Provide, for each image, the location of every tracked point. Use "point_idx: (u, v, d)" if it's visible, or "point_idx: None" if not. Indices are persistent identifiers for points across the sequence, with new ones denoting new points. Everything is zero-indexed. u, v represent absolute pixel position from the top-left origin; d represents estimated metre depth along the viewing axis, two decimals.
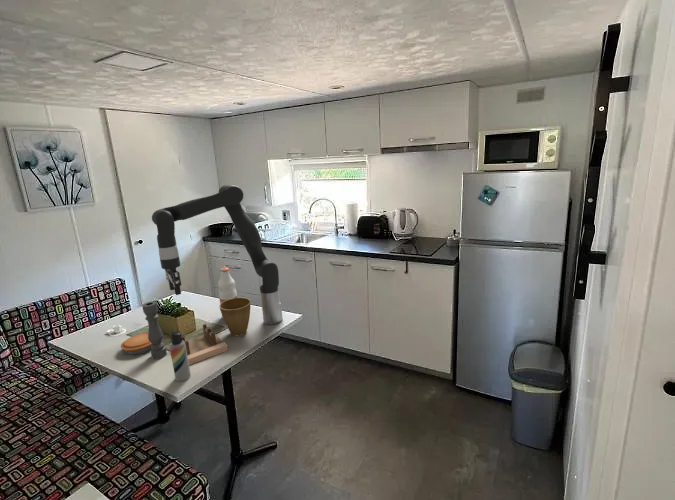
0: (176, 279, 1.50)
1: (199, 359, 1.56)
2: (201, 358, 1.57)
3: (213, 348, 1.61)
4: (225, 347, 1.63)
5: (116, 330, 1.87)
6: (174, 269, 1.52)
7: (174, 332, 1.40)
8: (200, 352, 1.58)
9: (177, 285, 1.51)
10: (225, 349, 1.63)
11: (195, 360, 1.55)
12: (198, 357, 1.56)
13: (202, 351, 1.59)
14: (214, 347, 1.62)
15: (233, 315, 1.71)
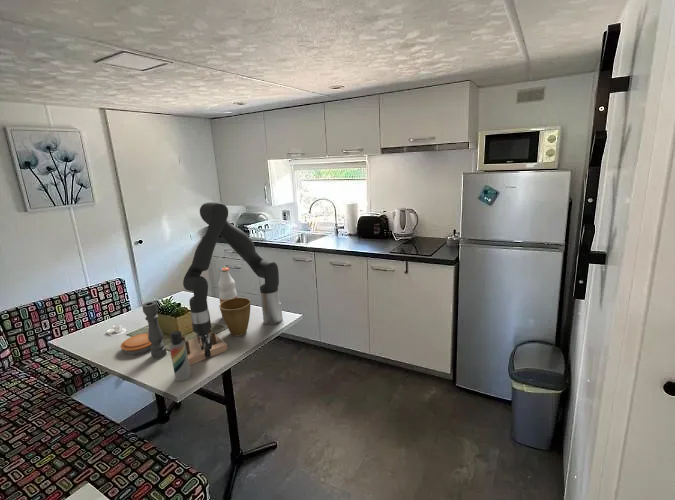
0: (208, 345, 1.54)
1: (199, 359, 1.56)
2: (201, 358, 1.57)
3: (213, 347, 1.61)
4: (225, 346, 1.64)
5: (116, 330, 1.87)
6: (206, 332, 1.54)
7: (174, 332, 1.40)
8: (200, 352, 1.58)
9: (208, 349, 1.55)
10: (225, 348, 1.64)
11: (195, 360, 1.55)
12: (198, 357, 1.56)
13: (202, 351, 1.59)
14: (214, 346, 1.62)
15: (233, 315, 1.71)
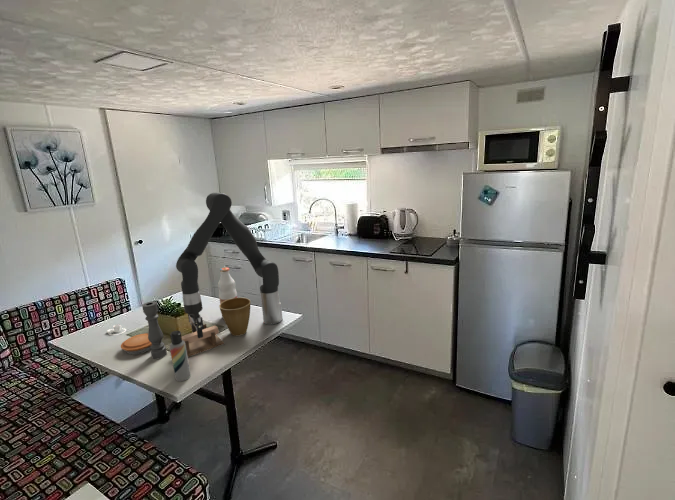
0: (199, 324, 1.58)
1: (190, 340, 1.62)
2: (192, 340, 1.62)
3: (204, 330, 1.66)
4: (216, 330, 1.69)
5: (116, 330, 1.87)
6: (197, 313, 1.60)
7: (174, 332, 1.40)
8: (191, 334, 1.64)
9: (200, 329, 1.59)
10: (216, 332, 1.69)
11: None
12: (189, 338, 1.61)
13: (194, 333, 1.64)
14: (205, 329, 1.67)
15: (233, 315, 1.71)
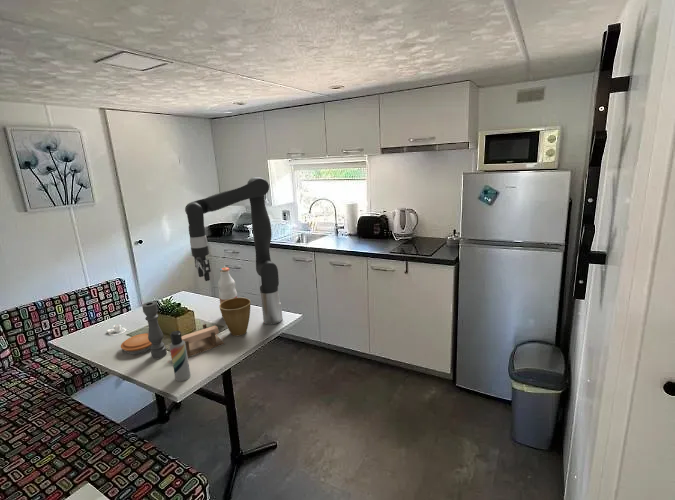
0: (206, 266, 1.64)
1: (190, 340, 1.62)
2: (192, 340, 1.62)
3: (204, 330, 1.66)
4: (216, 330, 1.69)
5: (116, 329, 1.88)
6: (204, 257, 1.66)
7: (174, 332, 1.40)
8: (191, 334, 1.64)
9: (207, 271, 1.64)
10: (216, 332, 1.69)
11: None
12: (189, 338, 1.61)
13: (194, 333, 1.64)
14: (205, 329, 1.67)
15: (233, 315, 1.71)
